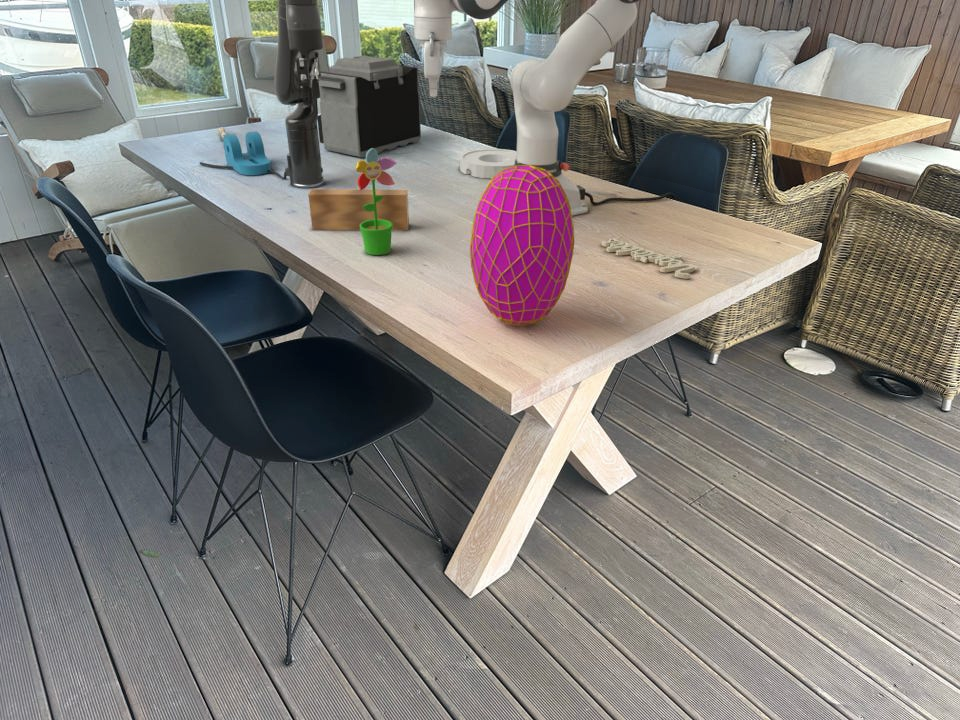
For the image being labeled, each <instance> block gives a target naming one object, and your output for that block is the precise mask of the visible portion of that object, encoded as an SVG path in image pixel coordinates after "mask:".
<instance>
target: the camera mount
mask: <svg viewBox="0 0 960 720" xmlns="http://www.w3.org/2000/svg"><path fill="white" fill-rule="evenodd" d="M222 143H223V149H224V150H223V151H224V156H225V161H226V166H233V169H232V170H234V171H236V172H237V173H238V174H239V175H244V176H260V175H265V174H268V173H269V172H268V170H272V164H271V159H270V158H268V157H267V156H266V153H265V145H264V141H263V139H262V136H261V134H260V132H258V131H247V132H246V133H245V146H246V152H243V151H242V150H243V149H242V146H241V142H240V140H239V138H238V135H236V134H235V133H231V134H228V135H224V137H223V141H222Z"/></svg>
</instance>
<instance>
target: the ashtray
mask: <svg viewBox="0 0 960 720" xmlns="http://www.w3.org/2000/svg"><path fill="white" fill-rule="evenodd" d="M516 157H517V150H513V149H505V148H478V149H472V150H468V151H465V152H462V153H461V154H460V156H459V171H460V173H462V174H464V175H470V176H472V177H475V178H479V179H480V178H481V179H490V180H491V179H492V178H493V177H494V176H495V175H496V174H497V173H499V172H500V171H501V170H503V169H506V168H509V167H513V166H515V159H516Z"/></svg>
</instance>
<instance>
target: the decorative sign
mask: <svg viewBox="0 0 960 720" xmlns="http://www.w3.org/2000/svg"><path fill="white" fill-rule="evenodd" d="M601 246H602V247H604V248H605V247H606V252H607V253H615V255H616V256H628V255H630V256H631V259H632V260H634V261H635V262H642V263H644V264H646V263H648V262H649V263H654V264H655V265H659V266H660V270H659V271H660V272H661V273H670V272H671V273H672V272H674V277H676V278H679V279H685V280H686V279H687V280H689V279H690V278H691V273H693V272H694V271H695V270H696V269H695V268H696V266H695V264H692V263H684V261H683V260H682V259H683V258H682V257H683V256H682V255H681V254H672V255H664V254H662V253H659V252H658V253H656V252H655V251H653V250H650V249H645V248H644V247H642V246H641V247H640V246H637V245H635V244H630V242H626V241H623V240H618V239H617V238H613V237H612V238H608V240H607V241H606V240H602V242H601Z"/></svg>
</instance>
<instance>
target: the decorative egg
mask: <svg viewBox="0 0 960 720" xmlns="http://www.w3.org/2000/svg"><path fill="white" fill-rule="evenodd" d="M573 221H574V220H573V216H572V213H571V207H570V204H569V201H568V198H567V195H566V193H565V191H564V189H563V188H562V186H561V184H560V182H559V181H558V180H557V179H556V178H555V177H554V176H553V175H552V174H551V173H550V172H549V171H547V170H545V169H542V168H539V167H536V166H532V165H516V166H513V167H509V168H506V169H503V170H501V171H500V172H499V173H497V174H496V175H495V176H494V177H493V178H492V179H491V178H490V181H489V182H488V184H487V186H486V187H485V189H484V191H483V192H482V194H481V196H480V199H479V202H478V205H477V206H476V209H475V212H474V217H473V222H472V229H471V236H470V245H469V251H470V252H469V253H470V255H469V256H470V267H471V272H472V276H473V280H474V284H475V287H476V290H477V292H478V294H479V298H480V299H481V300H482V302H483V303H484V305H485V307H486V308H487V310H488V312H489V313H490V314H491V315H492V316H494V317H495V318H496V319H498V320H500V321H501V322H503V323H505V324H508V325H512V326H528V325H532V324H535V323H538V322H539V321H542V319H544V318H546V317H547V316H548V315H549V314H550V313H551V311H552V310H553V309H554V307H555V306H556V304H557V303H558V301H559V300H560V298H561V297H562V294H563V292H564V290H565V288H566V286H567V282H568V278H569V274H570V271H571V265H572V261H573V256H574V250H575V242H576V241H575V229H574V222H573Z"/></svg>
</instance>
